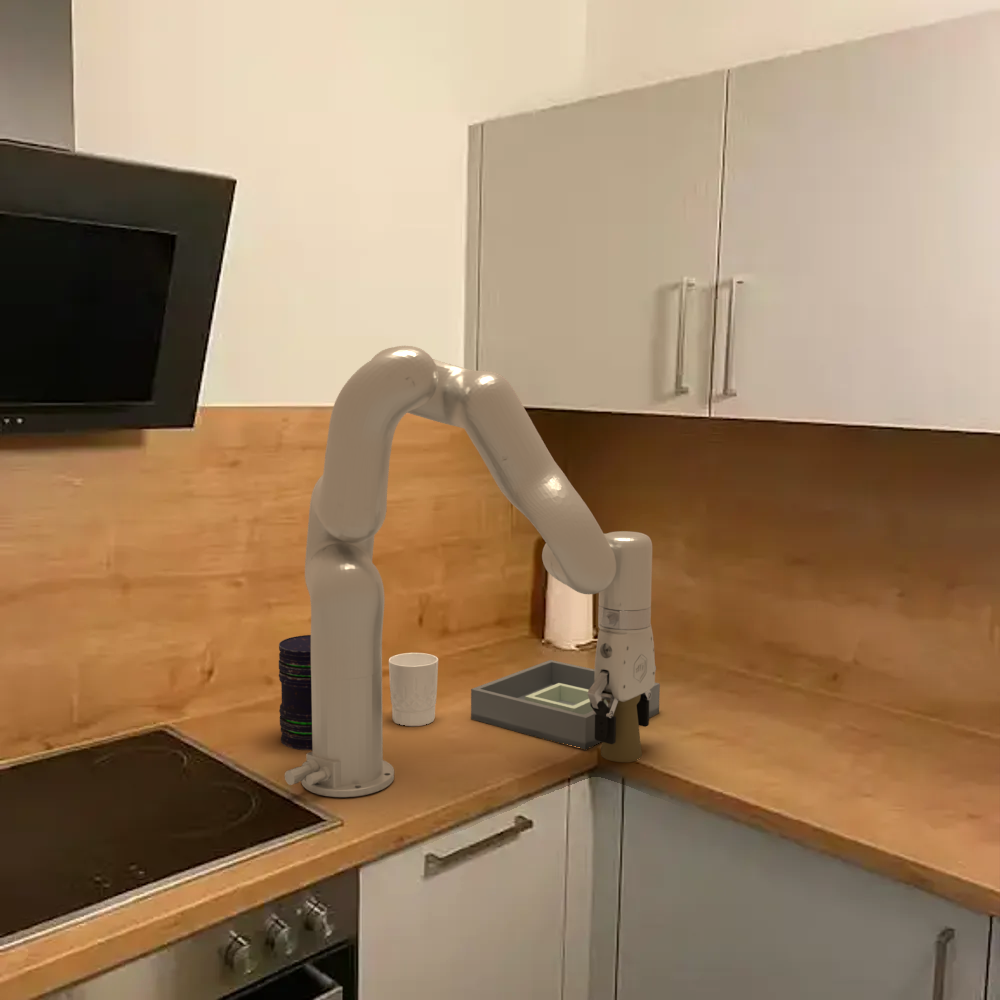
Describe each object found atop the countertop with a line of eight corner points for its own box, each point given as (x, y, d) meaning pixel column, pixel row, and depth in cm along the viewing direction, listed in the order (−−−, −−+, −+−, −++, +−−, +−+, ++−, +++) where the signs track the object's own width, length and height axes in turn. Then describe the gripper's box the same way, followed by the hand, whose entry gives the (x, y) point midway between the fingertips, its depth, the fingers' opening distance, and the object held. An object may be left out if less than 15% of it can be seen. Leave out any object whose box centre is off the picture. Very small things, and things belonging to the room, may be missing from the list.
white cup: (444, 724, 166) (444, 663, 164) (396, 730, 163) (396, 668, 161) (429, 709, 173) (429, 650, 172) (383, 715, 170) (383, 655, 169)
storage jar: (286, 753, 152) (284, 654, 151) (274, 732, 162) (272, 637, 160) (353, 745, 156) (351, 647, 154) (337, 724, 165) (336, 632, 163)
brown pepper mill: (640, 763, 150) (642, 689, 148) (598, 760, 151) (600, 686, 149) (643, 749, 156) (645, 677, 154) (602, 745, 157) (604, 674, 155)
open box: (585, 750, 155) (585, 717, 154) (471, 719, 168) (471, 689, 167) (659, 713, 172) (659, 683, 171) (550, 687, 185) (550, 659, 185)
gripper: (614, 633, 142) (612, 756, 144) (676, 610, 155) (673, 722, 157) (569, 625, 146) (567, 743, 148) (633, 603, 160) (630, 712, 162)
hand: (622, 732), depth 153 cm, fingers open, 8 cm apart
